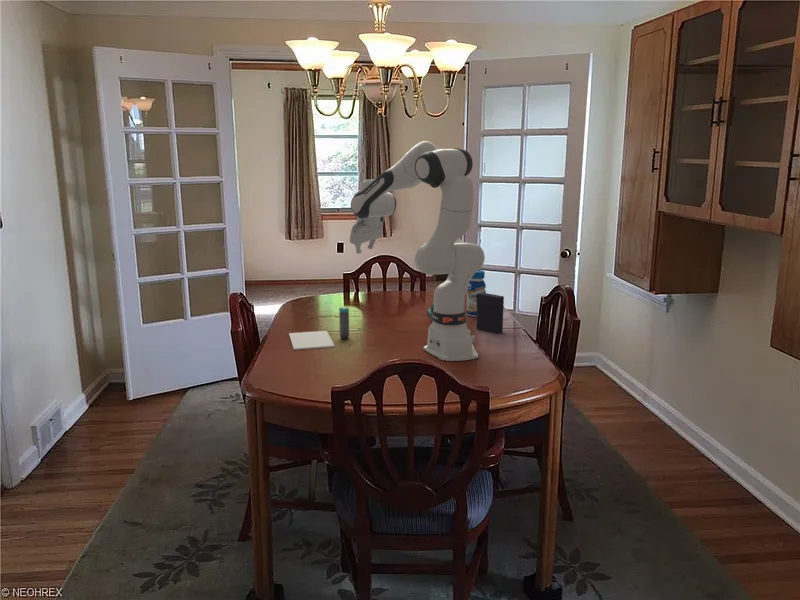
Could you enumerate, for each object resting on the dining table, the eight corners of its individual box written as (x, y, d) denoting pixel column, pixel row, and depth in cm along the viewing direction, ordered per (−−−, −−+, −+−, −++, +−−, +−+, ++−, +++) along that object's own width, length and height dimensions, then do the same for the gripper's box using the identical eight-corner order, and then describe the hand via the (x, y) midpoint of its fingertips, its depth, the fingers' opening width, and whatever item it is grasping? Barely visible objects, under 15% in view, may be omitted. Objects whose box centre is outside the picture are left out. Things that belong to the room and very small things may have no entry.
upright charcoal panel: (503, 332, 257) (505, 295, 254) (497, 334, 254) (499, 297, 251) (481, 327, 265) (482, 291, 261) (475, 329, 261) (476, 293, 258)
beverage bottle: (484, 312, 289) (485, 269, 284) (486, 317, 281) (487, 272, 276) (465, 312, 289) (466, 269, 285) (466, 317, 281) (468, 272, 276)
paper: (334, 347, 237) (334, 345, 236) (293, 350, 233) (293, 348, 233) (326, 332, 256) (326, 330, 256) (289, 334, 253) (288, 333, 253)
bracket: (449, 322, 272) (449, 304, 271) (433, 323, 271) (433, 305, 270) (440, 312, 290) (441, 295, 288) (426, 313, 289) (426, 296, 287)
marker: (350, 339, 247) (349, 309, 244) (340, 340, 246) (340, 309, 243) (348, 336, 250) (347, 307, 247) (339, 337, 249) (338, 307, 247)
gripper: (361, 224, 250) (357, 257, 255) (386, 216, 267) (383, 247, 272) (347, 220, 253) (344, 254, 258) (373, 213, 270) (370, 244, 275)
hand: (364, 250), depth 265 cm, fingers open, 8 cm apart
